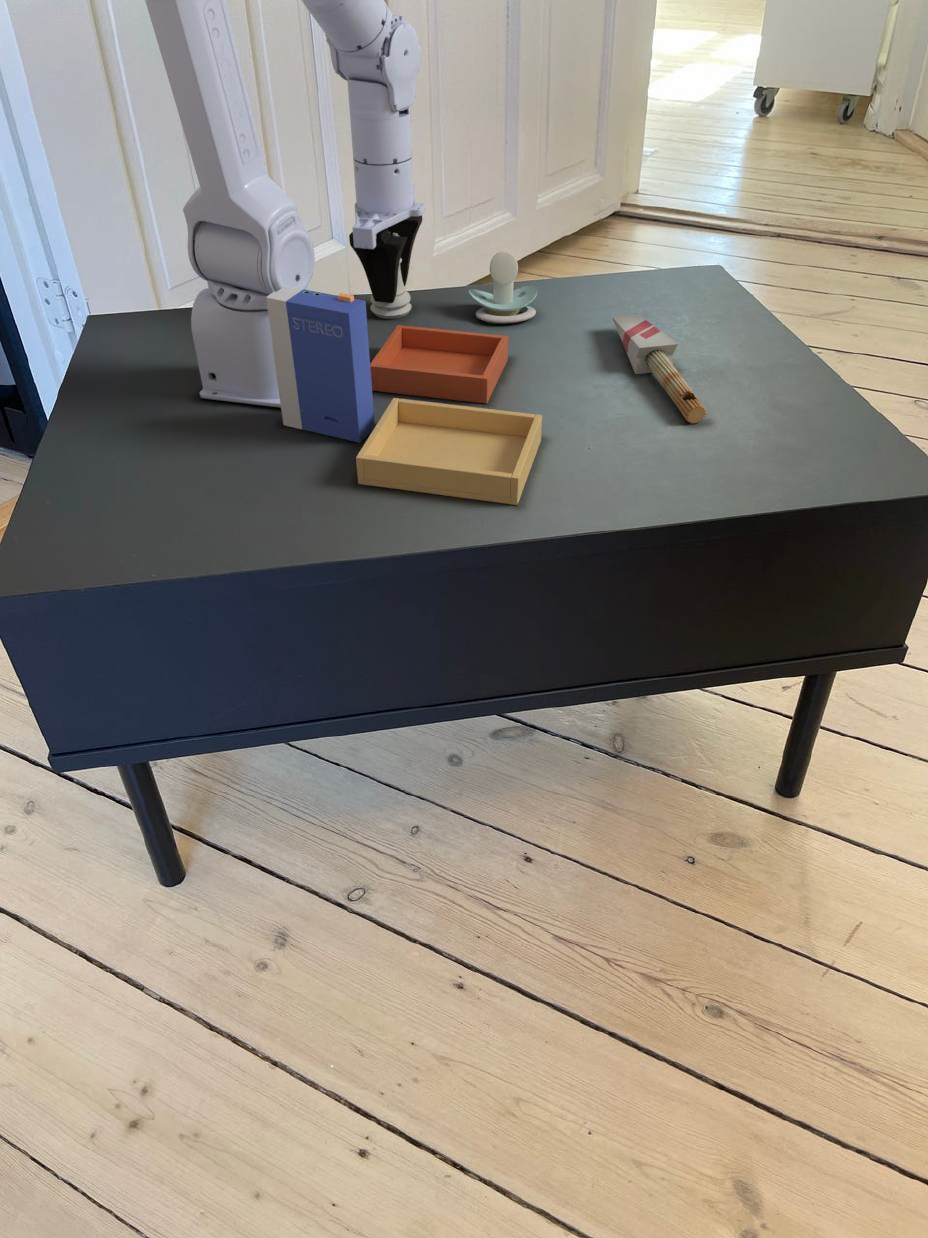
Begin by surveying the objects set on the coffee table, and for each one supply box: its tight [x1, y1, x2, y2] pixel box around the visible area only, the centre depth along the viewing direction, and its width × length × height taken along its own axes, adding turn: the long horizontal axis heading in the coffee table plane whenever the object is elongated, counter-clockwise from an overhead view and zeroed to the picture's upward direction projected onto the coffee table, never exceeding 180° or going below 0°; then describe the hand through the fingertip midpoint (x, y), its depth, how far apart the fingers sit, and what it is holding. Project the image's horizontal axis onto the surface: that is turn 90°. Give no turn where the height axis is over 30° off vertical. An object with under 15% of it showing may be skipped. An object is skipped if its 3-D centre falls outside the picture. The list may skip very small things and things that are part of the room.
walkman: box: [266, 286, 376, 444], centre depth 82 cm, size 8×3×12 cm, turn 65°
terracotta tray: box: [370, 324, 509, 405], centre depth 92 cm, size 11×9×2 cm
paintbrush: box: [611, 312, 707, 424], centre depth 92 cm, size 4×3×20 cm
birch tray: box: [355, 397, 543, 506], centre depth 80 cm, size 13×10×2 cm
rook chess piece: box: [370, 232, 413, 320], centre depth 102 cm, size 4×4×8 cm
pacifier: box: [468, 250, 538, 324], centre depth 102 cm, size 7×6×6 cm
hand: (390, 293), depth 103 cm, fingers closed on rook chess piece, 3 cm apart
